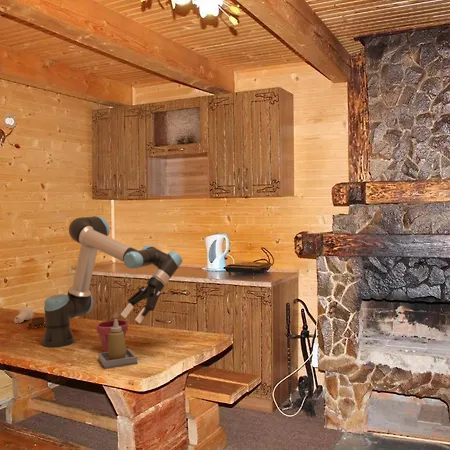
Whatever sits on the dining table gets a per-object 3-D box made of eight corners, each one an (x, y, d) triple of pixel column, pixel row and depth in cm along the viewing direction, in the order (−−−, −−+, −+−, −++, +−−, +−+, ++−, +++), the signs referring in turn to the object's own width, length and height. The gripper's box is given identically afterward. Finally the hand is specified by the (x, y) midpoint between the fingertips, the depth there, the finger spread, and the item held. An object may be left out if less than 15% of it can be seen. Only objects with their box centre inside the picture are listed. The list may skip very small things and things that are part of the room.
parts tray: (98, 359, 235) (98, 353, 235) (129, 355, 241) (129, 348, 240) (104, 368, 222) (104, 361, 222) (137, 363, 228) (137, 357, 228)
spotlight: (36, 317, 318) (31, 305, 316) (25, 326, 307) (20, 313, 305) (24, 319, 320) (20, 307, 318) (13, 328, 309) (9, 315, 307)
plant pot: (92, 353, 245) (90, 326, 244) (106, 345, 258) (105, 319, 258) (120, 355, 241) (119, 327, 240) (133, 346, 254) (132, 320, 254)
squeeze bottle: (109, 357, 235) (107, 317, 234) (127, 356, 236) (126, 316, 235) (106, 363, 227) (105, 321, 226) (125, 362, 228) (124, 320, 227)
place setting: (46, 322, 313) (46, 312, 312) (66, 326, 300) (66, 316, 300) (18, 328, 299) (18, 318, 299) (38, 333, 287) (38, 322, 286)
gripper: (178, 289, 234) (149, 329, 226) (149, 283, 254) (122, 319, 246) (167, 279, 231) (137, 318, 222) (139, 273, 250) (111, 309, 242)
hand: (129, 319), depth 234 cm, fingers open, 13 cm apart
